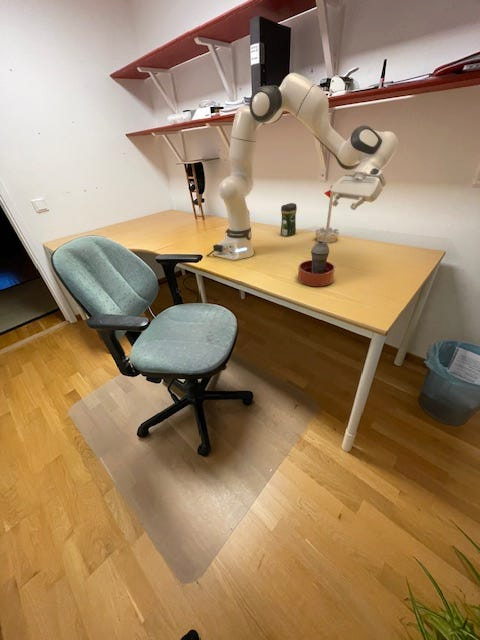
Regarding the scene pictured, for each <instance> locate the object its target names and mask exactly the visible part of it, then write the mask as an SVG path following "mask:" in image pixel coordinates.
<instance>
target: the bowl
mask: <svg viewBox="0 0 480 640" xmlns="http://www.w3.org/2000/svg"><path fill="white" fill-rule="evenodd" d="M335 271H336V266H335V264H333V263H332V262H330V261H328V260H327V261H326V266H325V270H324V273H322V274H315V273H312V259H309V260H305V261H302V262H300V263H299V264H298V267H297V280H298V281H299V282H300V283H301V284H304V285H306V286H310V287H323V286H328V285H330V284H332V283H333V281H334V278H335Z"/></svg>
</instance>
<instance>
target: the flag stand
mask: <svg viewBox="0 0 480 640" xmlns="http://www.w3.org/2000/svg"><path fill="white" fill-rule="evenodd" d="M334 184H335V183H331V184H330V185H329V188H330V189H329V190H327V191H325V192H323V194H324V195H326V196H327V197H328V198H329V202H328V212H327V218H326V219H327V220H326V227H320V228H319V229H318V228H316V230H315V236H316V241H317V242H322V241H323V237H324V233H325V231H326V235H325V239H324V242H325V243H326V244H329V243H334V242H336V241H337V237H338V236H339V235H340V230H339V229H338V228H334V229H333V227H330V223H331V215H332V209H333V205H332V202H333V201H334V196H333V195H332V193H331V188H332V187H333V186H334Z"/></svg>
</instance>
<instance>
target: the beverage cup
mask: <svg viewBox="0 0 480 640" xmlns="http://www.w3.org/2000/svg"><path fill="white" fill-rule="evenodd" d="M325 235H326V231H325V233H324V237H323V241H322V242H319V241H317V242H316V243H314V244H313V246H312V248H311V251H310V254H311V260H312V273H315V274H322V273H324V270H325V266H326V261H327V262H328V258H329V255H330V247H329V244H328V243H325V242H324V239H325Z"/></svg>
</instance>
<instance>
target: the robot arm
mask: <svg viewBox="0 0 480 640" xmlns="http://www.w3.org/2000/svg"><path fill="white" fill-rule="evenodd" d="M248 104H249V105H241V106H239V107H238V108H237V110H236V111H235V114H234V118H233V119H234V120H233V122H232V128H231V135H230V143H229V153H228V159H229V163H230V171H231V172H230V175H228V176H226V177H225V178H223V180H222V181H221V182H220V183H219V187H218V193H219V196H220V198H221V200H223V202H224V205H225V209H226V212H227V218H228V228H227V229H226V230H225V234H226V236H224V237H223V238H222V239H221V240H220V241H219V242H218V244H217V243H216V244H214V245H212V247H213V250H212V251H210V252H209V253H207V254H206V257H209V256H210V255H212V254H213V253H214V254H213V255H214V257H218V258H223V259H227V260H232V261H237V260H240V259H247V258H250V257H253V256H254V254H255V251H254V248H253V243H252V227H251V216H250V215H251V214H250V210H249V209H248V206H247V201H246V197H247V196H249V195H250V194H251V192H252V190H253V189H254V180H253V174H254V168H253V167H254V166H253V165H254V156H255V151H256V145H257V137H258V133H259V129H260V128H261V126H262V125H268V124H274V123H276V122H277V121H279V120H280V119H281V118H282V116H283V115H284V112H288V113H290V114H291V115H292V116H294V118H297V119H298V120H299V121H300V122H301V123H302V124H303V125H304V126H305V127H306V128H307V129H308V130H309V132H310V133H311V134H312V135H313V136H314V138H315V139H316V140H317V141H318V142H319V143H320V144H321V145H322V146H323V147H324V148H325V149H326V150H328V151H329V152H330V153H331V155H332V156H334V158H335V160H336V162H337V164H338V165H339V166H340V168H342V169H343V170H345V171H351V170H354V171H353V172H352V174H345V175H343V176H341V177H340V178H338V180H337V181H336V182H335V183H334V186H333V187H332V188H331V189H330V190H331V193H332V195H333V201H332V207H337V206H338V205H339V200H340V199H347V200H353V201H354V200H355V202H352V203H351V205H350V209H351V210H352V211H355V210H356V209H357V208H358V207H360V206H361V205H363V204H365V203H364V202H368V203H373V202H375V201H376V200H377V199H378V198H379V196H380V195H381V193H382V191H383V189H384V187H385V186H386V185H387V180H386V177H385V174H384V172H383V169H385V167H387V165H388V164H389V162H390V161H391V159H392V158H393V156H394V155H395V153H396V151H397V148H398V146H399V140H398V137H397V135H396V134H395V133H394V132H392V131H389V130H388V131H380V130H379V131H378V130H376V129H373V127H371V126H369V125H360V126H358V127H356V128H355V129H354V130H353V131H352V133H350V136H349V137H348V139H347V140H345V139H344V137H342V136H341V135H340V134H339V133H338V132H337V131H336V130H335V129H334V128H333V127H332V125H331V122H330V116H329V115H330V113H329V111H330V109H329V108H330V104H329V98H328V95H327V94H326V93H325V91H324V90H323V89H322V88H321V87H320V86H318V85H317V84H316V83H314V82H313V81H312V80H310V79H309V78H306V77H305V76H303V75H301V74H299V73H297V72H291V73H289V74H288V75H286V76H285V77H284V79H282V82H281V84H280V86H278V85H262V86H259V87H258V88H256V89H255V90H254V91H253V92H252V94H251V96H250V97H249V103H248Z"/></svg>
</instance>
